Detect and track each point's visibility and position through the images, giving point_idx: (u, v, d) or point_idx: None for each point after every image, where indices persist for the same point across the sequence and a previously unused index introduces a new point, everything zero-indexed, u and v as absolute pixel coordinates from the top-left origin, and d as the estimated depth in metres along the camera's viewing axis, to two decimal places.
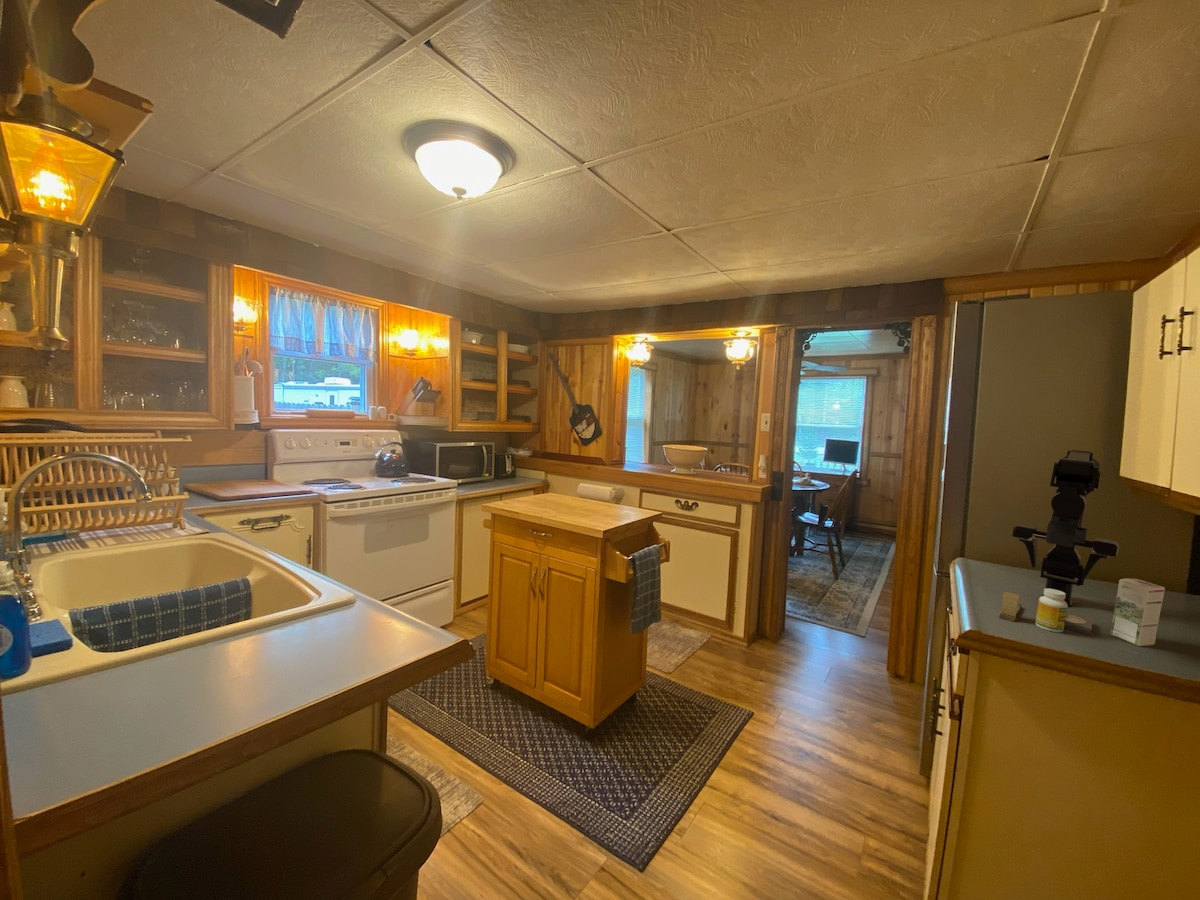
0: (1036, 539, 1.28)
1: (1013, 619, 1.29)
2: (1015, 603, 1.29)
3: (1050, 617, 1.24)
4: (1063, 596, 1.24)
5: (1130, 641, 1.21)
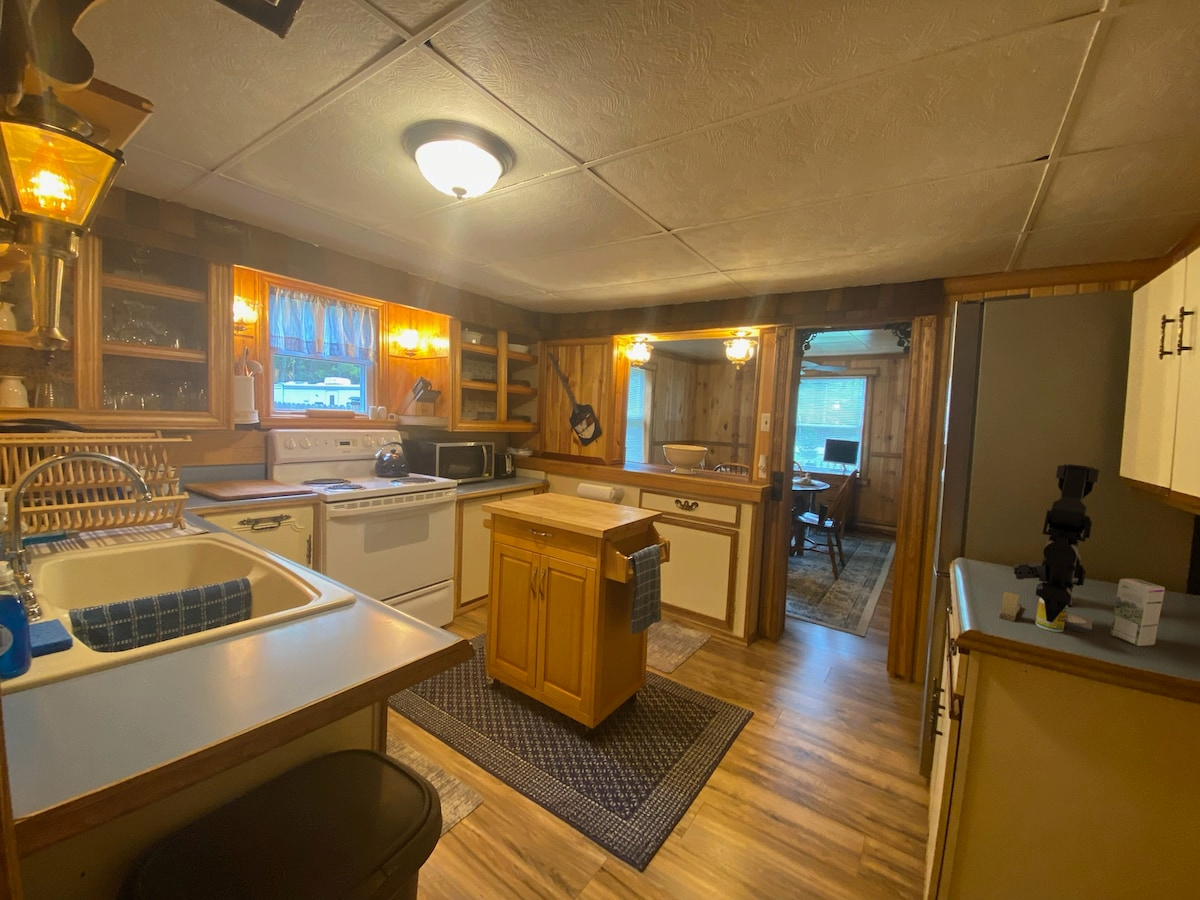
0: None
1: (1013, 619, 1.29)
2: (1015, 603, 1.29)
3: None
4: None
5: (1130, 641, 1.21)
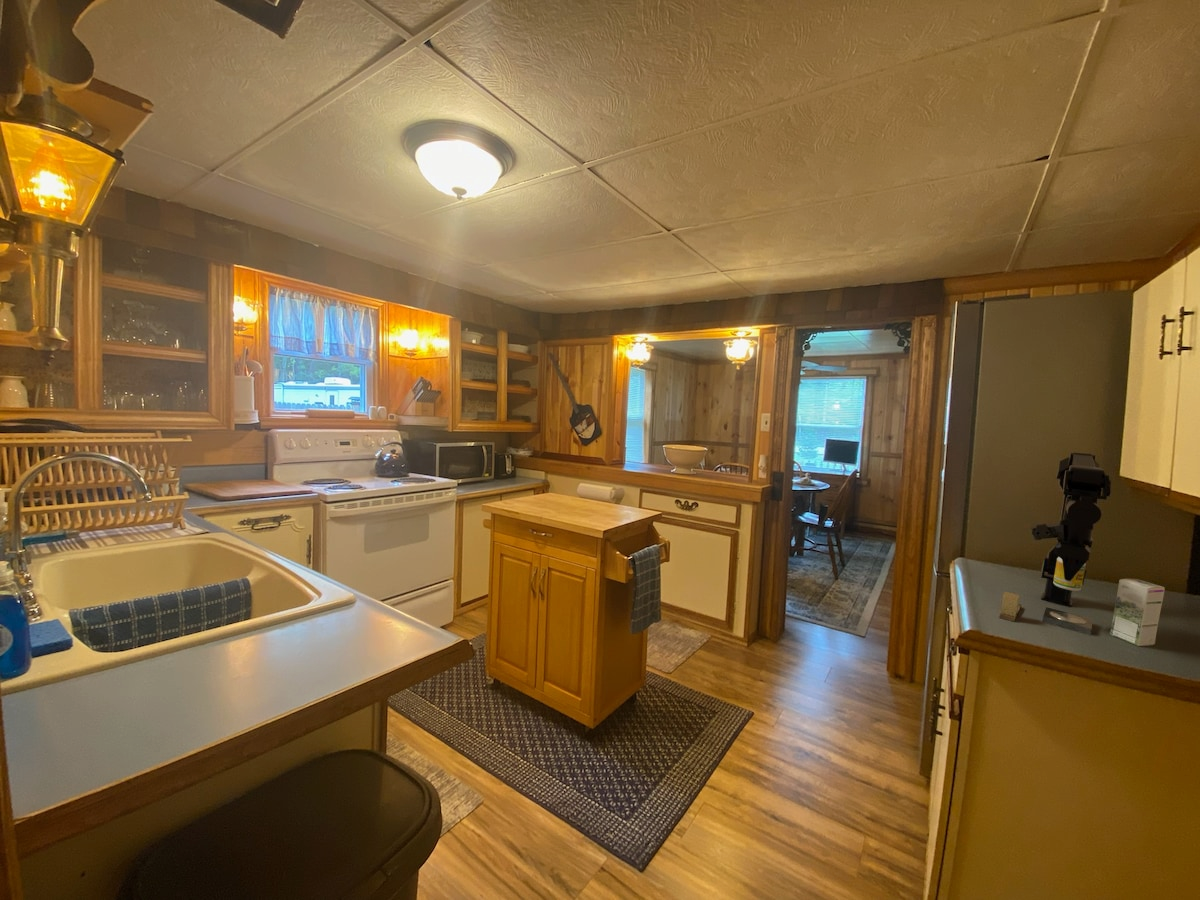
0: None
1: (1013, 619, 1.29)
2: (1015, 603, 1.29)
3: None
4: None
5: (1130, 641, 1.21)
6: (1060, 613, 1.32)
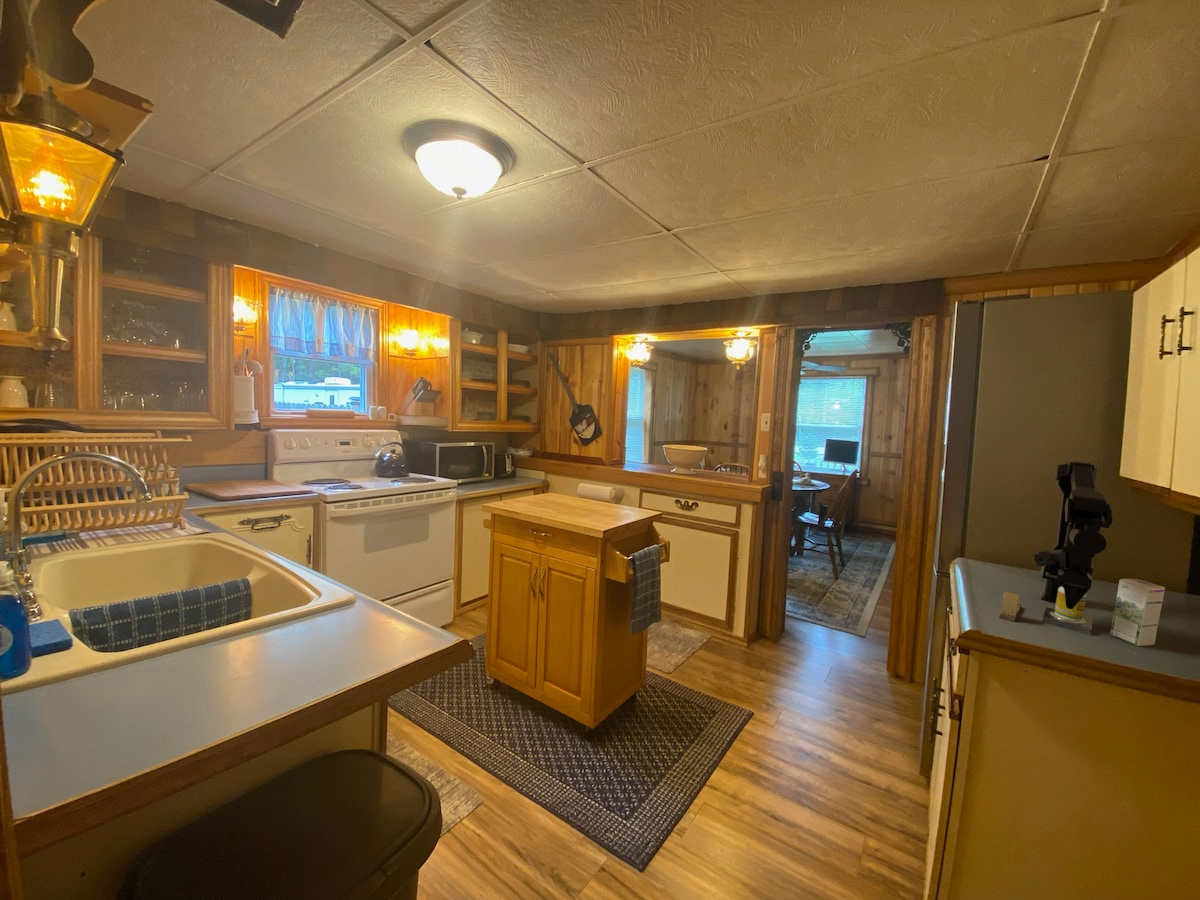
0: None
1: (1013, 619, 1.29)
2: (1015, 603, 1.29)
3: None
4: None
5: (1130, 641, 1.21)
6: None
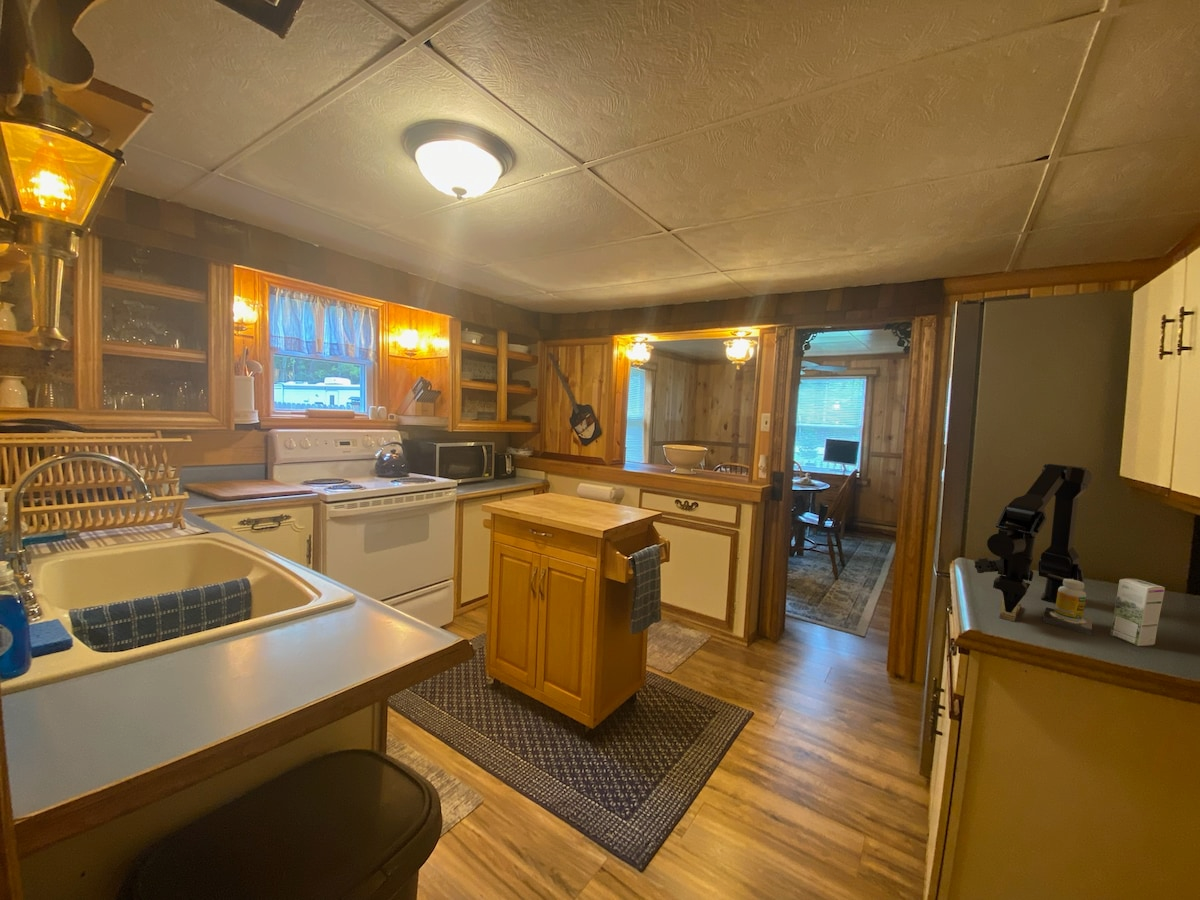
0: None
1: (1013, 619, 1.29)
2: None
3: (1069, 606, 1.28)
4: (1082, 586, 1.27)
5: (1130, 641, 1.21)
6: None
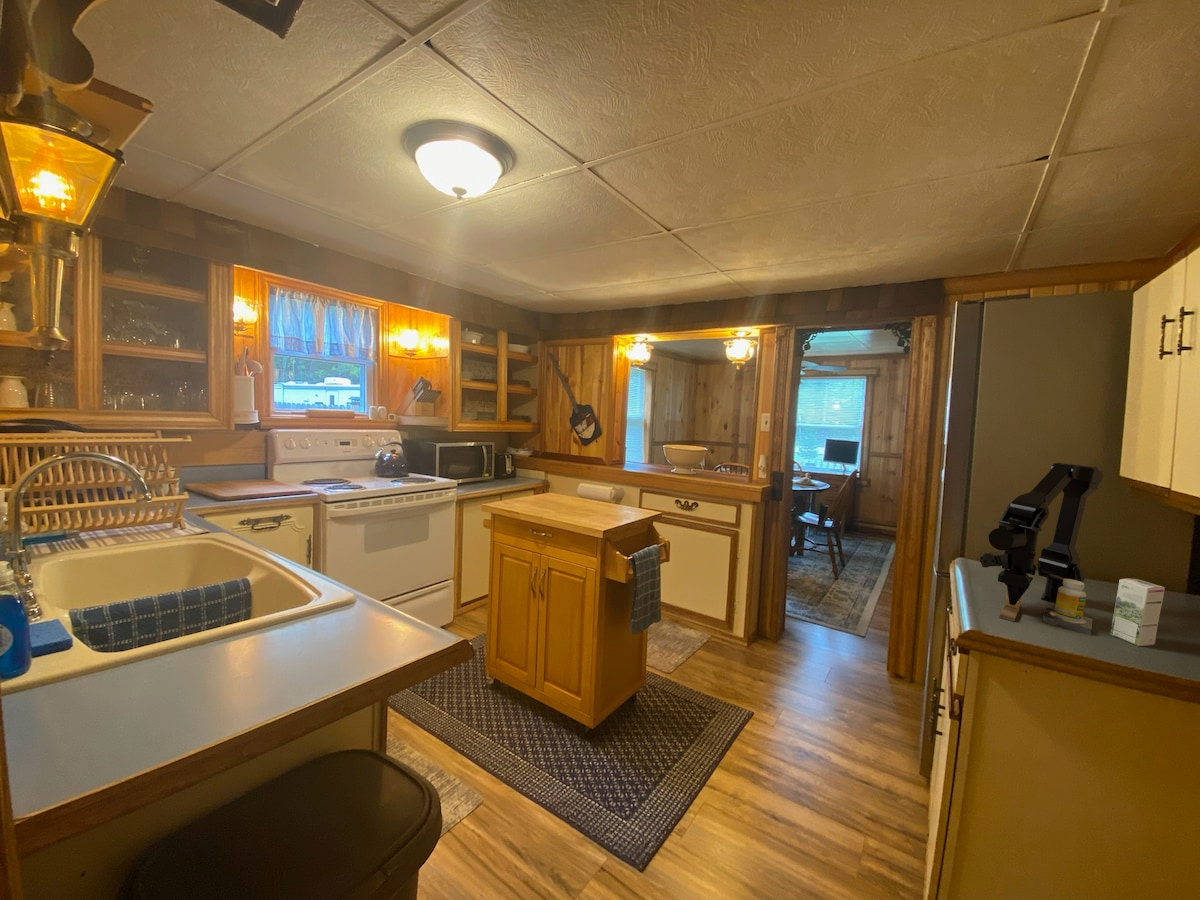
0: None
1: (1013, 619, 1.29)
2: None
3: (1069, 606, 1.28)
4: (1082, 586, 1.27)
5: (1130, 641, 1.21)
6: None
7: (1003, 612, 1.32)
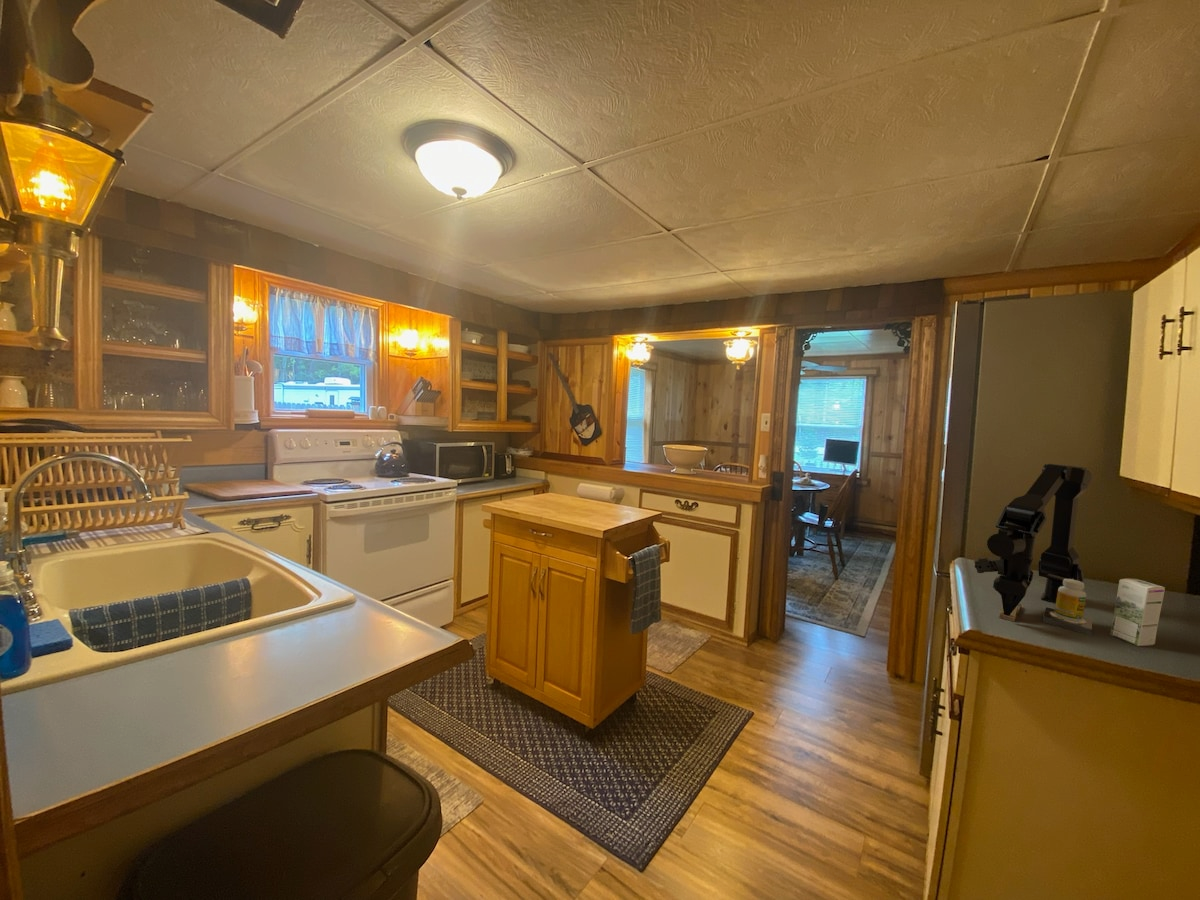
0: (1023, 582, 1.33)
1: (1013, 619, 1.29)
2: None
3: (1069, 606, 1.28)
4: (1082, 586, 1.27)
5: (1130, 641, 1.21)
6: None
7: None
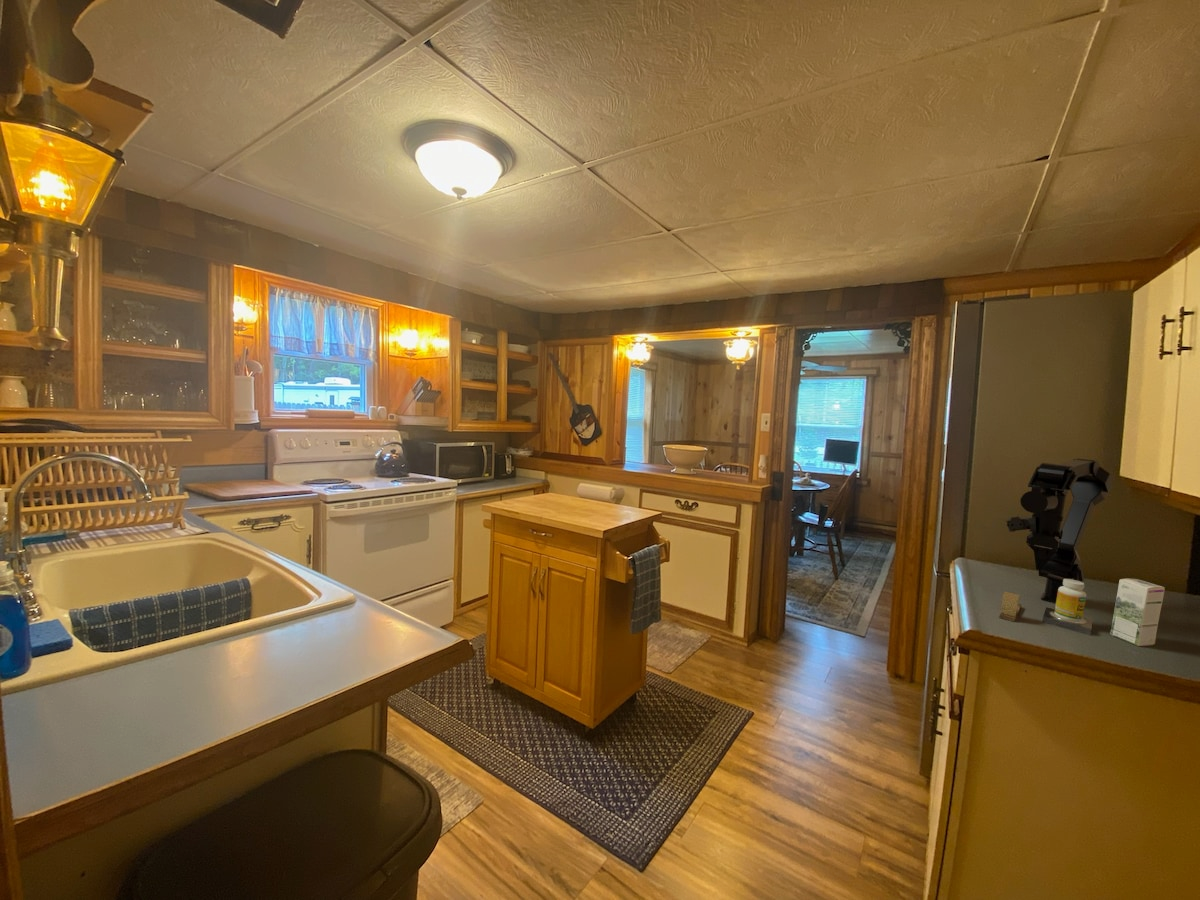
0: None
1: (1013, 619, 1.29)
2: (1015, 603, 1.29)
3: (1069, 606, 1.28)
4: (1082, 586, 1.27)
5: (1130, 641, 1.21)
6: None
7: None
